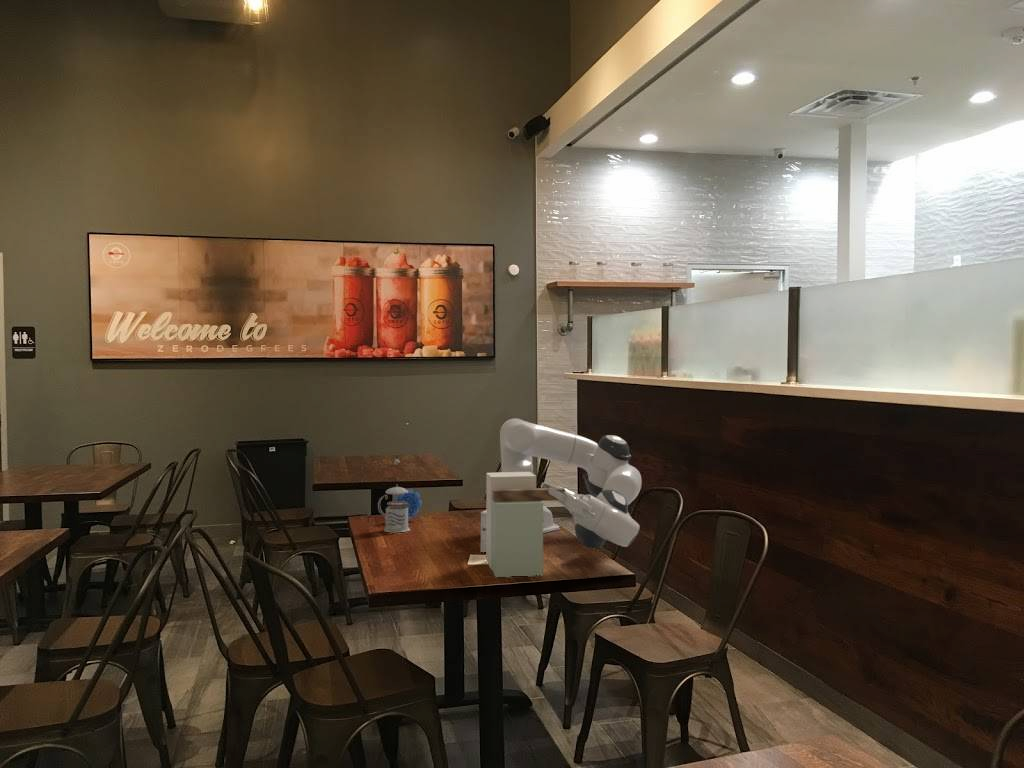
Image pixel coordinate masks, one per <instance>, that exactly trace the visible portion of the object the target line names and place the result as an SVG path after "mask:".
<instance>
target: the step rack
mask: <svg viewBox="0 0 1024 768" xmlns="http://www.w3.org/2000/svg"><path fill="white" fill-rule="evenodd" d="M485 474H486V477H485V478H486V482H485V483H486V491H485V492H486V504H485V505H486V507H485V508H486V509H485V510H486V553H485V555H486V557H485V558H486V560H487V561H486V560H485V561H486V563H487V562H488V563H487V565H488V564H489V565H488V566H489V568H490V570H491V571H493V572H492V574H493V573H494V574H493V576H494V577H495V576H496V577H506V578H510V577H509V576H528V577H543V576H544V533H543V506H544V501H514V502H494V501H493V489H532V488H537V475H536V474H534V473H533V474H532V473H531V472H502V471H501V472H500V471H499V472H498V471H497V472H496V471H495V472H486V473H485ZM534 575H535V576H534ZM536 575H537V576H536ZM539 575H540V576H539ZM496 577H495V578H496Z"/></svg>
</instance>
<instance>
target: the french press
mask: <svg viewBox="0 0 1024 768" xmlns="http://www.w3.org/2000/svg"><path fill="white" fill-rule="evenodd" d="M393 461H394V464H399V463H400V460H399V459H395V460H393ZM408 490H409V489H406V488H404V487H401V486H398V485H396V486H394V487H390V488H388V489H387V490H385V494H384V495H383V496H381V497H380V498H379V500H378V502H377V510H378V512H379V513H380V514H382V516H383V517H384V518H385V521H384V522H385V524H384V525H385V527H384V529H383V530H384V531H385V532H393V533H394V532H395V533H396V532H406V531H410V529H411V528H410V527H409V521H408V507H407V506H403V505H406V504H407V502H403V501H402V502H398V501H395V502H394V501H393V500H392V501H388V502H387V503H386V505H387V506H386V507H385V513H384V512H383V510H382V509H381V508H382V507H381V506H380V503H381V501H382V500H383V498H384V499H385V500H387V499H388V498H389V496H388V495H398V494H407V493H408V492H409V491H408ZM397 508H399V509H397ZM393 513H395V514H394V515H392V514H393ZM403 515H404V516H403ZM397 516H401V517H397ZM396 519H399V520H401V521H398V520H396ZM403 519H404V520H403ZM385 532H384V533H385ZM410 532H411V531H410ZM406 533H407V532H406Z"/></svg>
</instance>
